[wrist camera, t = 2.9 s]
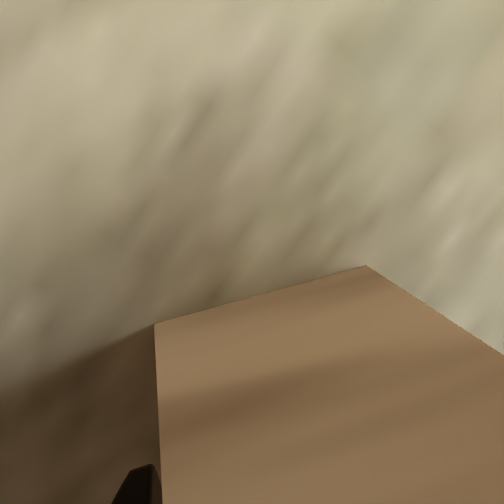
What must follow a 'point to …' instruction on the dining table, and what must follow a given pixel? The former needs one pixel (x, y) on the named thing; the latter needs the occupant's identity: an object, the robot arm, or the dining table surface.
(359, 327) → the wood block
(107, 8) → the dining table surface
